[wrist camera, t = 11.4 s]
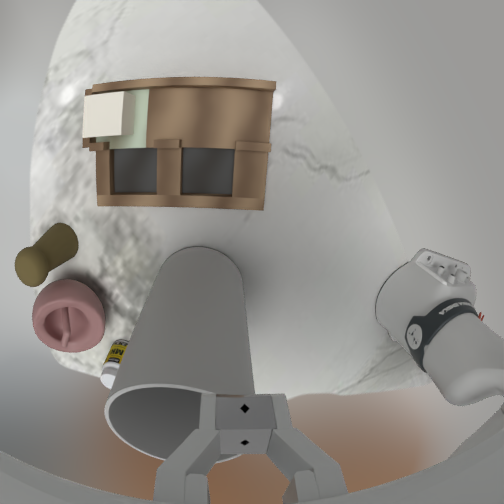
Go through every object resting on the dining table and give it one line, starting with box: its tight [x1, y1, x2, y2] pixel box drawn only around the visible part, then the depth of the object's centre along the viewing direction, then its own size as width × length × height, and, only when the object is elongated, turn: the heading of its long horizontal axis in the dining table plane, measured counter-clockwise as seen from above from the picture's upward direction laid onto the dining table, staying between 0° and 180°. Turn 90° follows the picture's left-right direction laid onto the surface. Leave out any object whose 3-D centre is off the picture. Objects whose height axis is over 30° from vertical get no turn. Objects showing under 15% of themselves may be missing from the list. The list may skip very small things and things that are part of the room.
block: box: [83, 91, 136, 138], centre depth 28 cm, size 5×5×4 cm
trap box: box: [83, 77, 276, 210], centre depth 33 cm, size 23×16×4 cm
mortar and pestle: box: [32, 279, 105, 352], centre depth 37 cm, size 12×12×12 cm
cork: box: [15, 223, 78, 287], centre depth 33 cm, size 6×6×11 cm
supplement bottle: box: [100, 340, 129, 389], centre depth 42 cm, size 5×5×8 cm
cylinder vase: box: [105, 247, 255, 463], centre depth 31 cm, size 12×12×25 cm
